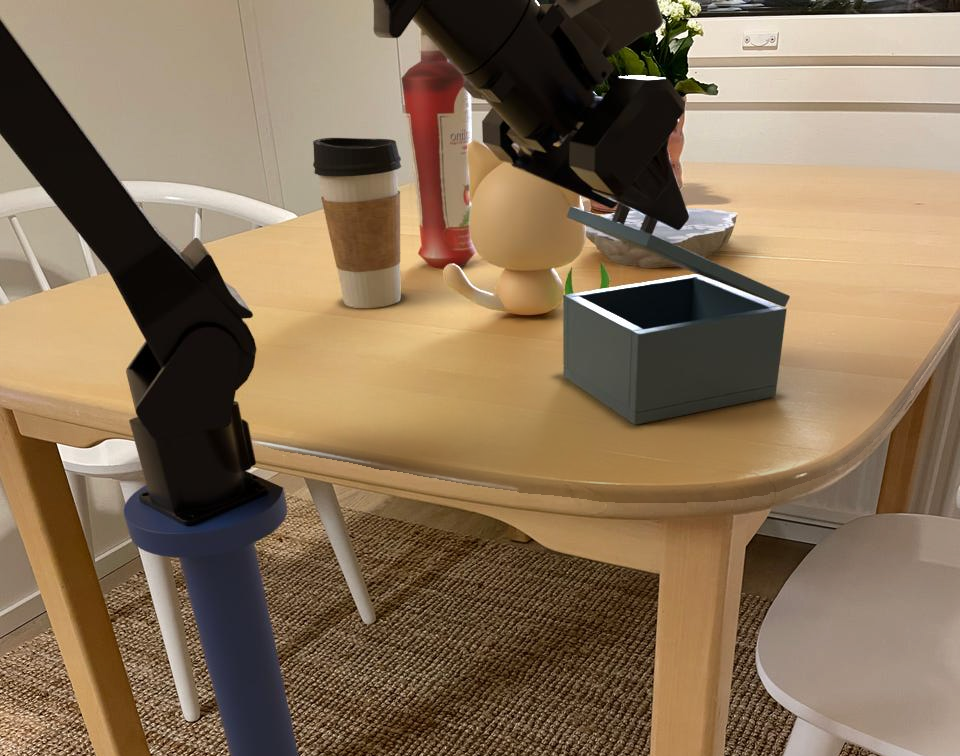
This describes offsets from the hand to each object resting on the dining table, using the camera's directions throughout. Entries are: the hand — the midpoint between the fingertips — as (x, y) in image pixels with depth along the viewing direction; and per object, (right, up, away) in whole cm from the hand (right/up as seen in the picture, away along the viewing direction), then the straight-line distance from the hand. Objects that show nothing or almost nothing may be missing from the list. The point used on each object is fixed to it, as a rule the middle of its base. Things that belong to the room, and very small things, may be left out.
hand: (648, 212), depth 66 cm
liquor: (-15, +14, +45) cm, 50 cm away
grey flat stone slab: (+9, +16, +45) cm, 48 cm away
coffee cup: (-23, +6, +33) cm, 41 cm away
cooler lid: (+2, -2, +3) cm, 4 cm away
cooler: (+3, -10, +8) cm, 13 cm away
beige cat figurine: (-6, +2, +27) cm, 27 cm away
